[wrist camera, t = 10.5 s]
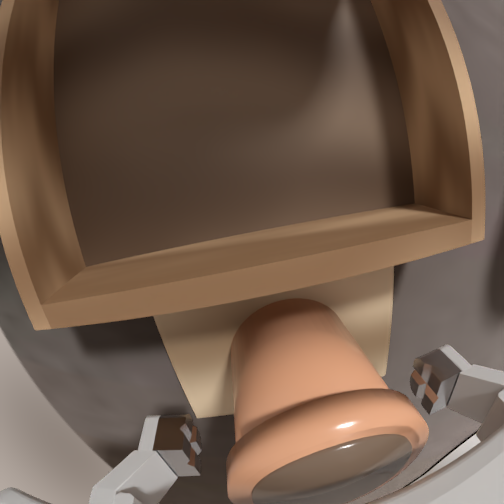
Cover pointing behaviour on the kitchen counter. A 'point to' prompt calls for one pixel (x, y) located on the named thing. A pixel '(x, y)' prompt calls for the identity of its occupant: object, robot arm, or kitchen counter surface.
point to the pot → (312, 412)
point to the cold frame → (227, 149)
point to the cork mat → (235, 313)
